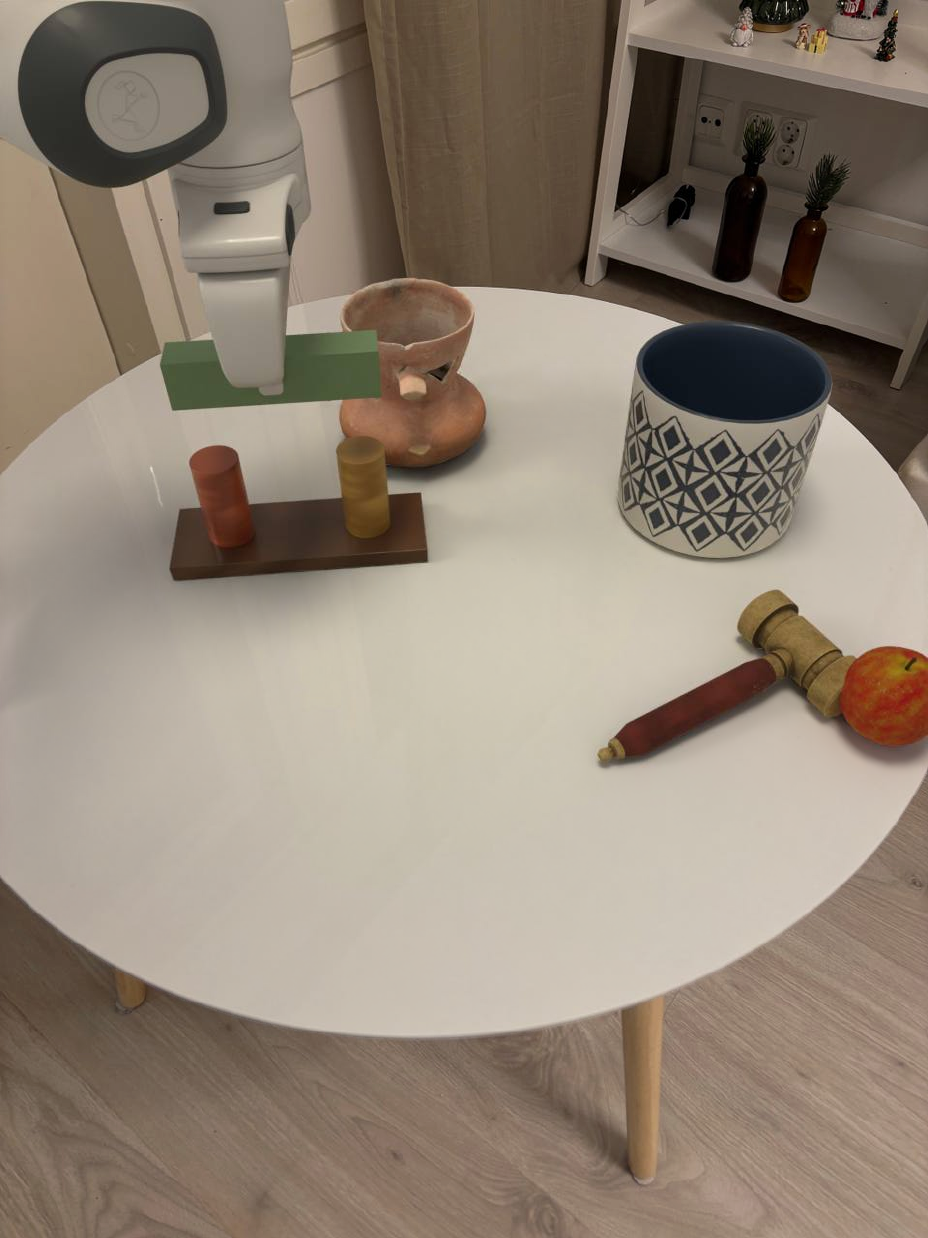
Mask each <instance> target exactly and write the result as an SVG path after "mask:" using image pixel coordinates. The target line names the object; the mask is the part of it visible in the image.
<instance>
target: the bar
mask: <svg viewBox="0 0 928 1238" xmlns="http://www.w3.org/2000/svg"><path fill="white" fill-rule="evenodd" d="M161 353H162V354H161V356H160V362H159V367H160V371H161V375H162V378H163V383H164V387H165V389H166V393H167V397H168V401H169V404H170V407H171V411H173V412H177V411H190V410H192V411H193V410H205V409H206V410H207V409H222V408H223V409H224V408H237V407H252V406H267V405H283V404H298V403H316V402H330V401H343V400H348V399H363V398H379V397H382V390H381V376H380V364H379V353H378V341H377V330H364V331H348V332H343V331H334V332H315V333H301V334H300V333H299V334H286V342H285V358H284V390H283V392H282V393H281V394H279V395H263V394H261V393H260V391H259V387H248V388H237V387H234V386H232V385H231V384H230V382H229V381H228V379H227V378H226V376H225V374H224V372H223V370H222V367H221V364H220V361H219V358H218V355H217V351H216V348H215V345H214V342H213V339H201V340H183V341H165V342H164V344H163V349H162V352H161Z"/></svg>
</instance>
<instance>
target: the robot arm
mask: <svg viewBox="0 0 928 1238" xmlns="http://www.w3.org/2000/svg"><path fill="white" fill-rule="evenodd" d="M285 2H286V1H285V0H0V140H2V141H4V142H7V143H8V144H10V145H12V146H13V147H14V148H17V149H18V150H20V151H21V152H23V153H25V154H27V155H28V156H30V157H32V158H34V159H35V160H36V161H39V162H40V163H42V164H44V165H45V166H48V167H49V168H51V169H53V170H55V171H56V172H58V173H60V174H61V175H64V176H65V177H67V178H69V179H72V180H74V181H77V182H79V183H82V184H85V185H87V186H91V187H96V188H103V189H119V188H125V187H128V186H133V185H135V184H138V183H140V182H143V181H145V180H147V179H150V178H152V177H154V176H155V175H158V174H160V173H162V172H164V171H166V170H167V174H168V179H169V183H170V187H171V188H170V189H171V195H172V198H173V204H174V208H175V211H176V216H177V221H178V223H177V224H178V228H177V229H178V230H177V231H178V244H179V251H180V256H181V260H182V264H183V267H184V270H185V271H186V272H187V273H190V274H192V273H193V274H194V273H196V274H197V275H196V277H197V285H198V291H199V295H200V299H201V303H202V307H203V310H204V314H205V318H206V322H207V325H208V328H209V331H210V335H211V338H212V340H213V342H214V345H215V348H216V351H217V355H218V358H219V361H220V364H221V367H222V370H223V372H224V374H225V376H226V378H227V379H228V381H229V382H230V384H231V385H232V386H234V387H237V388H248V387H259V391H260V393H261V394H263V395H279V394H281V393H282V392H283V390H284V358H285V342H286V335H287V324H288V308H289V293H290V280H291V279H290V278H291V277H290V276H291V263H292V255H293V254H292V252H293V248H294V244H295V240H296V238H297V236H298V235H299V232H300V231H301V228H302V226H303V224H304V223H305V222H306V221H307V220H308V218H309V217H310V215H311V213H312V203H311V195H310V187H309V179H308V172H307V165H306V156H305V146H304V139H303V133H302V128H301V127H302V126H301V124H300V121H299V119H298V117H297V115H296V111H295V109H294V105H293V101H292V95H291V85H292V84H291V82H292V75H293V68H294V67H293V66H294V65H293V64H294V63H293V52H292V51H293V50H292V43H291V36H290V29H289V28H290V27H289V22H288V15H287V9H286V3H285Z"/></svg>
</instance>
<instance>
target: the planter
mask: <svg viewBox="0 0 928 1238" xmlns="http://www.w3.org/2000/svg"><path fill="white" fill-rule="evenodd" d="M832 388H833V376H832V373H831V371H830V369H829V366H828V364H827V363H826V362H825V361H824V359H823V358H822V357H821V356H820V355H819V354H818V353H817V352H816V351H815V350H814V349H813V348H811V347H810V346H808V345H807V344H806V343H804V342H802V341H800V340H798V339H796V338H794V337H793V336H790V335H788V334H786V333H783V332H781V331H778V330H774V329H772V328H769V327H765V326H760V325H756V324H751V323H745V322H737V321H727V320H709V321H707V320H706V321H696V322H689V323H684V324H679V325H675V326H673V327H670V328H668V329H665V330H662V331H660V332H658V333H657V334H655V335H653V336H652V337H650V338H649V339H648V340H647V341H646V342H645V343H644V344H643V345H642V347H641V348H640V349H639V351H638V353H637V355H636V358H635V365H634V372H633V378H632V385H631V391H630V392H631V393H630V399H629V400H630V401H629V406H628V413H627V420H626V427H625V435H624V442H623V450H622V457H621V463H620V472H619V479H618V486H617V502H618V505H619V508H620V510H621V512H622V514H623V516H624V517H625V519H626V520H627V522H629V524H630V525H631V526H632V527H633V529H635V530H636V531H637V532H638V533H640V534H641V535H642V536H643V537H645V538H646V539H648V540H650V541H651V542H653V543H655V544H657V545H659V546H661V547H663V548H665V549H668V550H671V551H674V552H677V553H680V554H685V555H689V556H693V557H700V558H708V559H709V558H710V559H726V558H736V557H742V556H747V555H751V554H753V553H756V552H759V551H762V550H764V549H766V548H768V547H770V546H771V545H773V544H774V543H775V542H777V541H778V540H779V539H781V537H782V536H783V535H784V534H785V532H786V531H787V530H788V528H789V525H790V523H791V521H792V518H793V515H794V512H795V509H796V506H797V502H798V499H799V497H800V493H801V490H802V487H803V484H804V480H805V477H806V474H807V471H808V469H809V465H810V462H811V458H812V455H813V453H814V449H815V446H816V442H817V439H818V436H819V433H820V429H821V428H822V427H821V426H822V423H823V420H824V417H825V414H826V410H827V407H828V403H829V401H830V397H831V394H832Z"/></svg>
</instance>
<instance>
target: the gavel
mask: <svg viewBox="0 0 928 1238" xmlns="http://www.w3.org/2000/svg"><path fill="white" fill-rule="evenodd" d="M799 612H800V609H799V606H798V605H797V604H796V603H795V602H794V601H793V600H792V599H790V597H788V596H787V595H786V594H785V593H784V592H783V591H781V590H780V589H771V590H768V591H766V592H763V593H761V594H759V595H758V596H757V597H755V598H754V599H753V600H752V601H751V602H749V604H747V606H746V607H744V609H743V611H742V612H741V613H740V616H739V619H738V620H737V626H736V629H737V632H738V633H739V634H740V635H741V636H742V637H743V638H744V639H745V640H746V641H747V642H748V643H749V644H750V645H751V646H752V647H753V648H755V649H759V650H760V649H764V652H765V655H763V656H760V657H759V658H756V659H752V660H749V661H746V662H743V663H742V664H739V665H738V666H735V667H733V668H731V669H730V670H728V671H727V672H724V673H722V674H720V675H718V676H716V677H714V678H713V679H710V680H708V681H706V682H704V683H702V684H701V685H699V686H696V687H695V688H693V689H690V690H689V691H687V692H685V693H683V694H681V695H679V696H677V697H675V698H674V699H671V700H669V701H667V702H665V703H664V704H662V705H659V706H658V707H656V708H654V709H651V710H650V711H648V712H646V713H644V714H642V715H640V716H639V717H636V718H634V719H632V720H631V721H628V722H627V723H626V724H624V725H623V727H621V729H620V730H619V731H618V732H617V733H616V734H615V735H614V737H612V738H611V739H609V741H608V742H607V747H602V748H600V749H599V750H598V751H597V758H598V759H599V761H600V762H601V763H607V762H610V761H611V760H612V759H613V758H614V759H615V760H623V759H625V758H633V757H638V756H645V755H647V754H649V753H650V752H652V751H654V750H657V749H658V748H659V747H662V746H664V745H666V744H668V743H669V742H671V741H673V740H675V739H677V738H679V737H681V736H682V735H685V734H687V733H688V732H690V731H692V730H694V729H696V728H698V727H700V726H701V725H703V724H705V723H707V722H709V721H712V720H713V719H715V718H716V717H719V716H720V715H722V714H724V713H726V712H729V711H730V710H732V709H733V708H736V707H737V706H739V705H741V704H743V703H745V702H747V701H749V700H751V699H752V698H754V697H756V696H759V695H760V694H762V693H764V692H765V691H766V690H768V689H769V688H771V686H772V685H774V684H775V683H777V682H779V681H781V680H783V679H786V678H788V677H790V678H791V679H792V680H793V681H794V682H795V683H796V684H798V685H799V687H801V688H802V689H806V690H807V694H806V699H807V700H808V701H809V702H810V703H811V704H812V705H813V706H814V707H815V708H816V709H817V710H818V711H819V712H820V713H821V714H822V715H823V716H824V717H826V718H833V717H834V718H835V717H839V716H841V715H843V713H842V710H841V707H840V695H841V692H842V689H843V685H844V681H845V676H846V674H847V671H848V669H849V667H850V665H851V664H852V663H853V662H854V661H855V660H856V659H857V658H858V657H856V656H854V655H853V654H852V655H850V654H849V655H844V654H843V651H842V650H841V648H839V647H838V646H837V645H836V644H835V643H834V642H833V641H832V640H830V639H829V638H828V637H827V636H826V635H825V634H823V633H822V632H821V631H820V630H819V629H818V628H817V627H816V626H814V624H812V622H810V621H809V620H808V619H807V618H805V616H803V615H800V613H799Z"/></svg>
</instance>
